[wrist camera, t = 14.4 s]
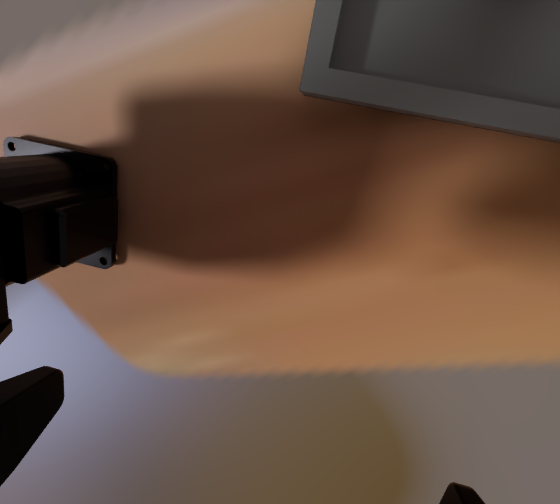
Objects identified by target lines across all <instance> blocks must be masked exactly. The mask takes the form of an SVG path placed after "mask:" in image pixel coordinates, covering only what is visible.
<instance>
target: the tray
mask: <svg viewBox="0 0 560 504" xmlns="http://www.w3.org/2000/svg"><path fill="white" fill-rule="evenodd" d="M299 91H300V92H302V93H303V94H304V95H306V96H311V97H317V98H322V99H327V100H333V101H338V102H343V103H349V104H354V105H359V106H365V107H370V108H376V109H381V110H386V111H392V112H397V113H402V114H408V115H413V116H418V117H424V118H429V119H435V120H440V121H445V122H451V123H456V124H461V125H467V126H472V127H477V128H483V129H488V130H494V131H499V132H504V133H510V134H515V135H520V136H526V137H531V138H536V139H542V140H547V141H553V142H558V143H560V0H316V3H315V8H314V13H313V19H312V24H311V30H310V35H309V41H308V46H307V51H306V57H305V62H304V68H303V73H302V79H301V84H300V90H299Z"/></svg>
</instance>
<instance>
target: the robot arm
mask: <svg viewBox="0 0 560 504" xmlns="http://www.w3.org/2000/svg"><path fill="white" fill-rule="evenodd" d="M14 144H15V146H16V149H15V148H14ZM3 145H4V156H5V157H0V344H1V343H2V342H3V341H4V340H5V339H6V338H7V336H8V335H9V334H10V333H11V332H12V320H11V319H9V317H8V307H7V297H6V286H8V285H10V284H13V283H20V284H25V283H27V282H29V281H32V280H34V279H36V278H38V277H40V276H42V275H44V274H46V273H48V272H51V271H53V270H55V269H57V268H59V267H67V266H69V265H71V264H73V263H75V262H78V263H82V264H86V265H90V266H94V267H98V268H102V269H108V268H110V267H112V266H113V265H114V264H115V259H116V241H117V231H118V200H117V164H116V162H115V160H114V159H113V158H111V157H108V156H103V155H98V154H94V153H89V152H84V151H80V150H75V149H70V148H66V147H61V146H57V145H52V144H47V143H43V142H38V141H33V140H29V139H24V138H20V137H7V138H5V140H4V144H3ZM105 163H107V164H108V167H109V168H108V170H106V168H105V166H104V165H105ZM104 258H106V259H107V262H105V260H104ZM63 400H64V377H63V372H62V371H61V370H59V369H56V368H52V367H48V366H43V367H40V368H37V369H34V370H32V371H29V372H26V373H23V374H21V375H18V376H15V377H13V378H10V379H7V380H4V381H1V382H0V486H1V485H2V484H3V483H4V482H5V480H6V479H7V478H8V477H9V475H10V474H11V473H12V472H13V471H14V469H15V468H16V467H17V466H18V464H19V463H20V461H21V460H22V459H23V458H24V456H25V455H26V454H27V452H28V451H29V449H30V448H31V447H32V445H33V444H34V443H35V441H36V440H37V439H38V437H39V436H40V435H41V433H42V432H43V430H44V429H45V428H46V426H47V425H48V424H49V422H50V421H51V420H52V418H53V417H54V415H55V414H56V413H57V411H58V410H59V408H60V407H61V405H62V403H63ZM439 504H485V503H484V502H483V500H482V499H481V498H480V497H479V495H478V494H477V493H476V492H475V491H474V490H473V489H472V488H471V487H469V486H465V485H462V484H458V483H455V482H452V483H450V484H449V485H448V487H447V489H446V491H445V493H444V495H443V497H442V499H441V501H440V503H439Z"/></svg>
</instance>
